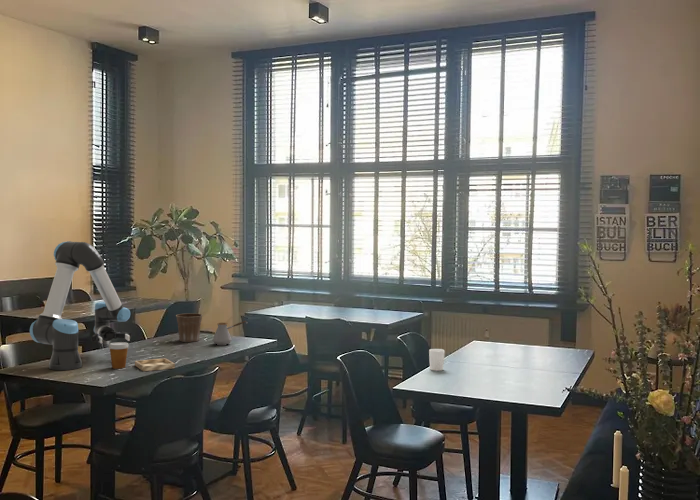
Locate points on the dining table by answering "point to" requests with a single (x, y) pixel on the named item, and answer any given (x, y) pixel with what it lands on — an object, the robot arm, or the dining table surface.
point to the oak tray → (154, 364)
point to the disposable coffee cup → (118, 354)
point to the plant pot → (189, 326)
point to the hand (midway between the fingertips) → (115, 339)
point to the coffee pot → (223, 334)
